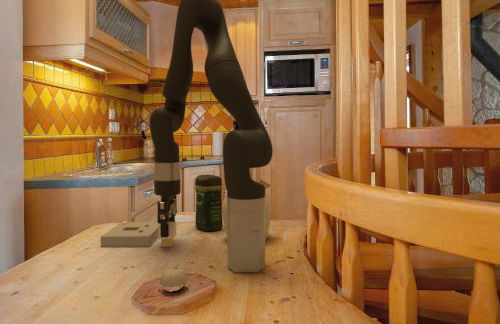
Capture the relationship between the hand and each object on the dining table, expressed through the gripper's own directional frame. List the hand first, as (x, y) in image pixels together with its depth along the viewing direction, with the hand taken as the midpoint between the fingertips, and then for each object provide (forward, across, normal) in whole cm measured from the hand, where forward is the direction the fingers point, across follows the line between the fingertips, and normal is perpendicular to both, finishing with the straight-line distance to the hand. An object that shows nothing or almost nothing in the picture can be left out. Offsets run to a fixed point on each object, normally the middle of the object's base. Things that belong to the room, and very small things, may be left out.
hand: (168, 233), depth 113 cm
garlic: (+3, -32, -8) cm, 34 cm away
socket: (+4, +7, +12) cm, 15 cm away
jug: (+4, +7, -23) cm, 24 cm away
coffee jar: (+4, +20, -10) cm, 22 cm away
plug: (+4, -1, 0) cm, 4 cm away
